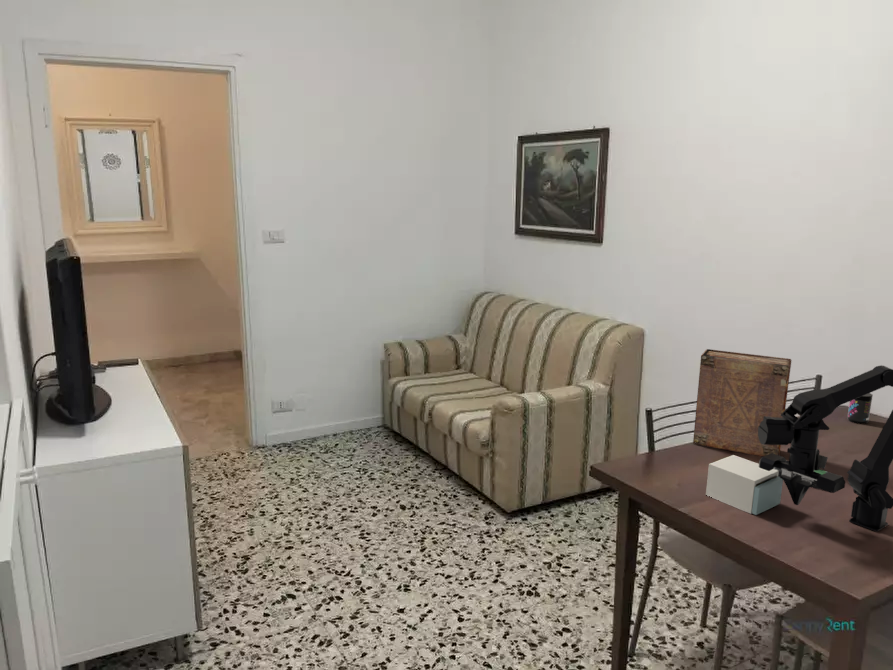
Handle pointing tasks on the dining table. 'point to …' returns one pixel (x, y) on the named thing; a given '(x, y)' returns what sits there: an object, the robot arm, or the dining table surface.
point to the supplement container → (860, 409)
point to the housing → (736, 481)
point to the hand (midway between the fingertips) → (796, 504)
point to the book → (739, 400)
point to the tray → (767, 495)
